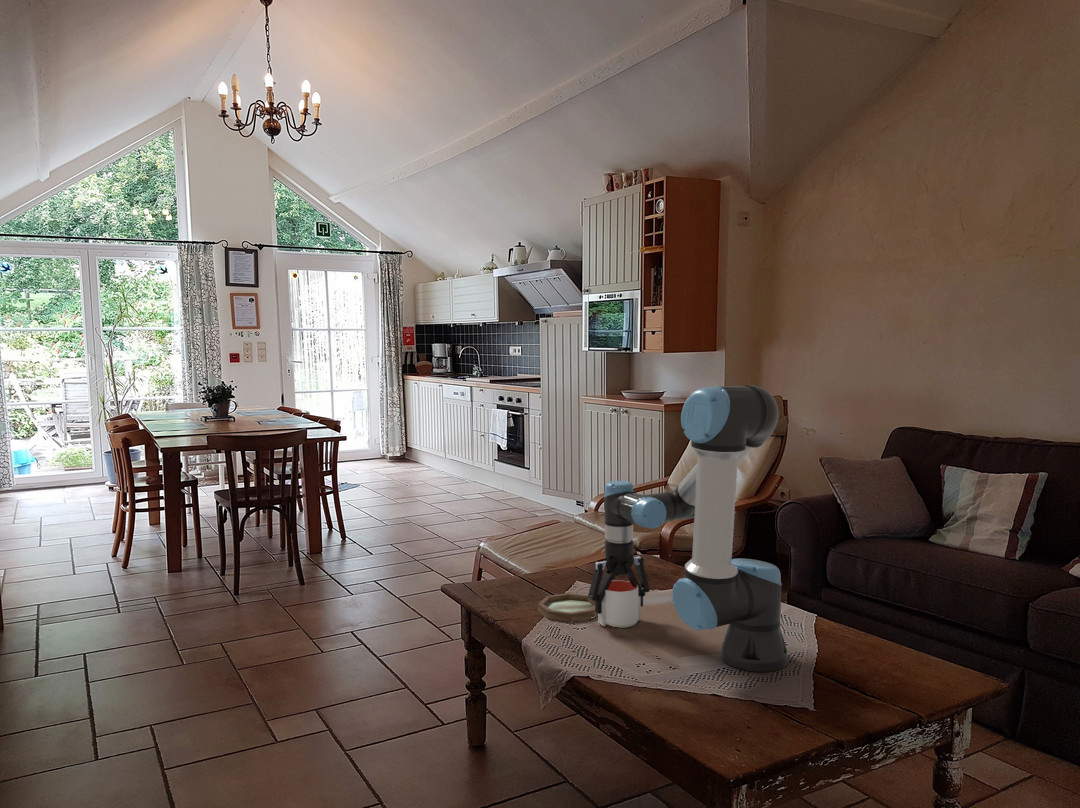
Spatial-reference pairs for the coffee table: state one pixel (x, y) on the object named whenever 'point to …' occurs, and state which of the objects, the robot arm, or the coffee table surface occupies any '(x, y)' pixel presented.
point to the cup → (621, 604)
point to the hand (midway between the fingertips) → (619, 621)
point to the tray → (567, 607)
